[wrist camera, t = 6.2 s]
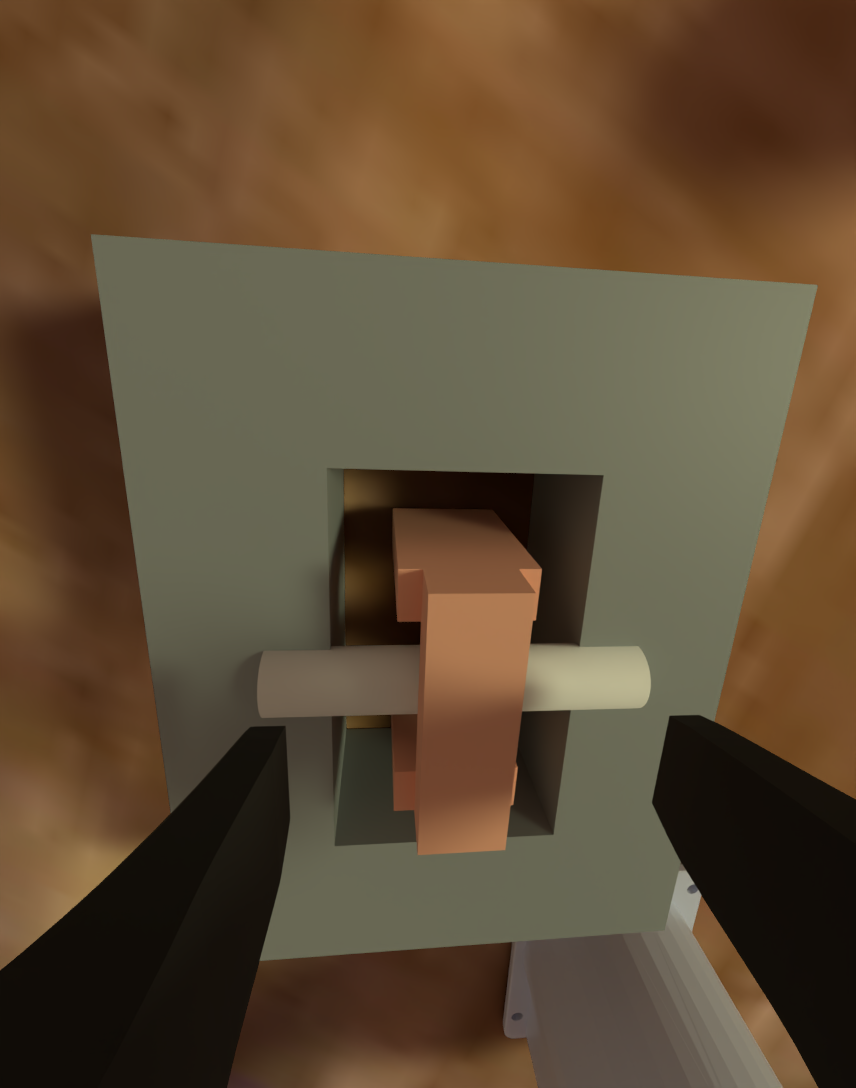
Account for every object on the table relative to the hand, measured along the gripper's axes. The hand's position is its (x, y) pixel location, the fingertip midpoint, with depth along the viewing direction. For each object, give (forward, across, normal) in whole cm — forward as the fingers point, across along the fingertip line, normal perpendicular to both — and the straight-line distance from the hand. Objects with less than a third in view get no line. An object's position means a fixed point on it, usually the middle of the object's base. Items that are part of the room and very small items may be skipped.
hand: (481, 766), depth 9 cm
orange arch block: (+7, 0, 0) cm, 7 cm away
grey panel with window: (+8, 0, 0) cm, 8 cm away
